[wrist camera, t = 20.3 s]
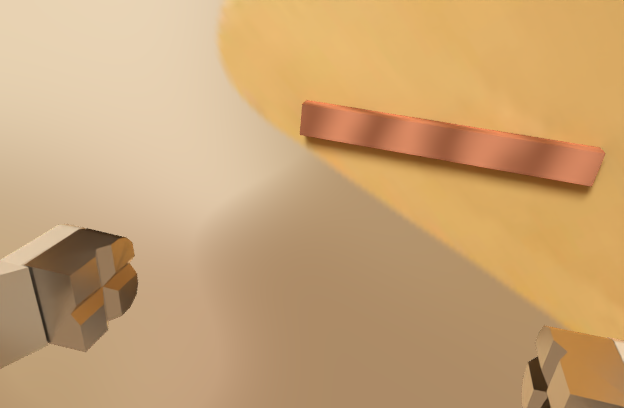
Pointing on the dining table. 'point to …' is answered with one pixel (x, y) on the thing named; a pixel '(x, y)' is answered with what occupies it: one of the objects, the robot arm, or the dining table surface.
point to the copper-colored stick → (453, 142)
